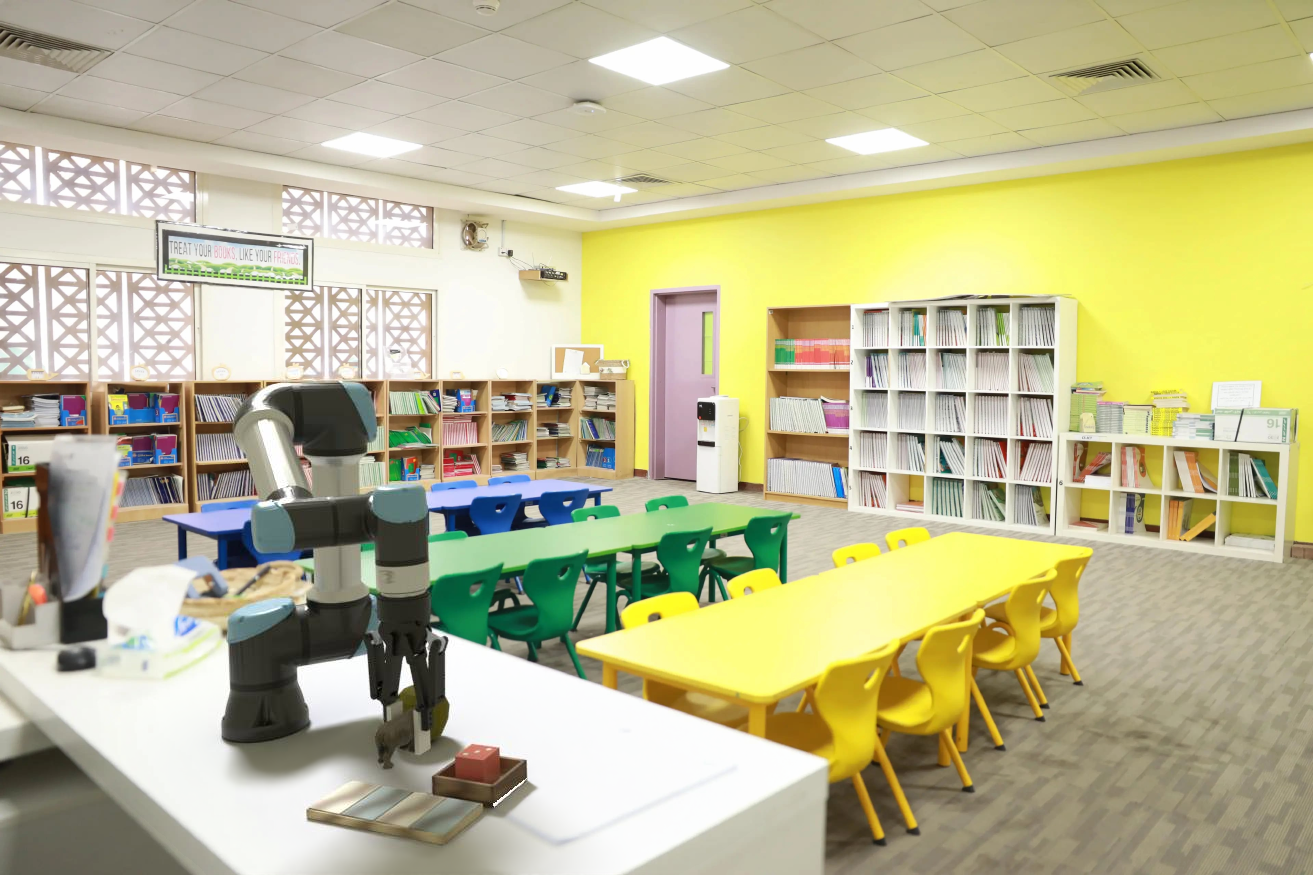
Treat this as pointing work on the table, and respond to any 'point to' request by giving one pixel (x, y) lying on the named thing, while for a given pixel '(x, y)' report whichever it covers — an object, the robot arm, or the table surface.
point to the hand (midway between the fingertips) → (409, 748)
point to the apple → (438, 713)
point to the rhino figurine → (395, 737)
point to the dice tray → (478, 792)
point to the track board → (396, 811)
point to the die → (478, 764)
